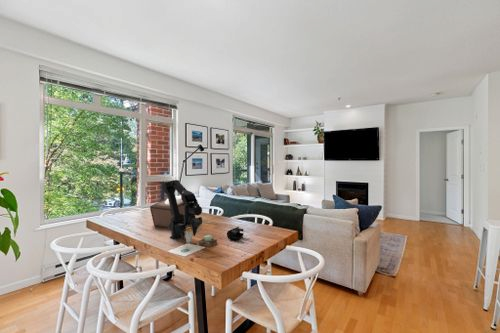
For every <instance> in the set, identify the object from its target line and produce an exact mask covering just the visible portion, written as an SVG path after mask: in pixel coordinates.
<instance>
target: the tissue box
mask: <svg viewBox="0 0 500 333" xmlns="http://www.w3.org/2000/svg"><path fill="white" fill-rule="evenodd" d="M175 197H176V201H177V205H178V209H179V213H180V214H183V215H184V206H183V204H184V202H183V201H182V199H181V195H175ZM189 203H190V202H189ZM149 210H150V214H151V218H152V223H153V226H154V227H157V228H158V227H159V228H165V229H169V224H170V223H171V217H172V212H171V208H170V204H169V200H168V198H166V199H163V200H160V201H158V202H156V203H153V204H151V205H150V206H149Z"/></svg>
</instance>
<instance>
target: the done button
mask: <svg viewBox="0 0 500 333" xmlns="http://www.w3.org/2000/svg"><path fill="white" fill-rule="evenodd" d="M212 238H213V236H212V235H211V234H206V235H204V236H203V239H204V241H206V242H209V241H212Z"/></svg>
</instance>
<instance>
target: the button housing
mask: <svg viewBox="0 0 500 333" xmlns="http://www.w3.org/2000/svg"><path fill="white" fill-rule="evenodd" d="M215 244H218V239H217V238H213V237H212V241H209V242H206V241H204V238H202V239H199V240H198V246H202V247H207V248H209V247H212V246H214V245H215Z"/></svg>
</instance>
